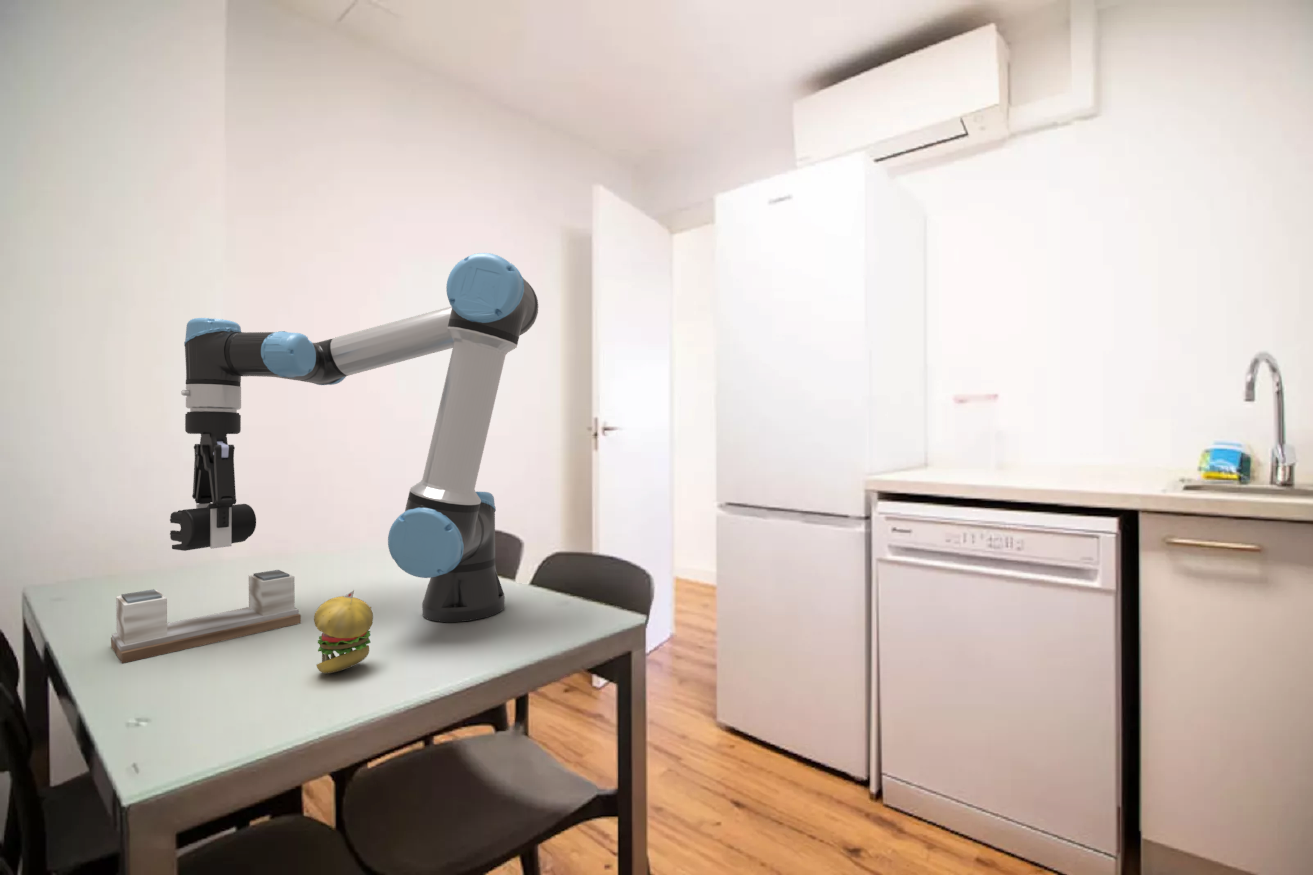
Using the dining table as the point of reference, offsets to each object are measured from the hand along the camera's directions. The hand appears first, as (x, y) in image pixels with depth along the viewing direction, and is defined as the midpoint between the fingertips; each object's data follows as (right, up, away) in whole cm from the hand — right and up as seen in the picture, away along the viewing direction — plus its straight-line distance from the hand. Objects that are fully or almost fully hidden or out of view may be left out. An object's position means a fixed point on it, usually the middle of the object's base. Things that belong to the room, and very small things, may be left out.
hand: (213, 543), depth 98 cm
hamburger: (+31, -16, -16) cm, 38 cm away
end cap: (0, -1, 0) cm, 1 cm away
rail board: (-1, -16, +1) cm, 16 cm away
